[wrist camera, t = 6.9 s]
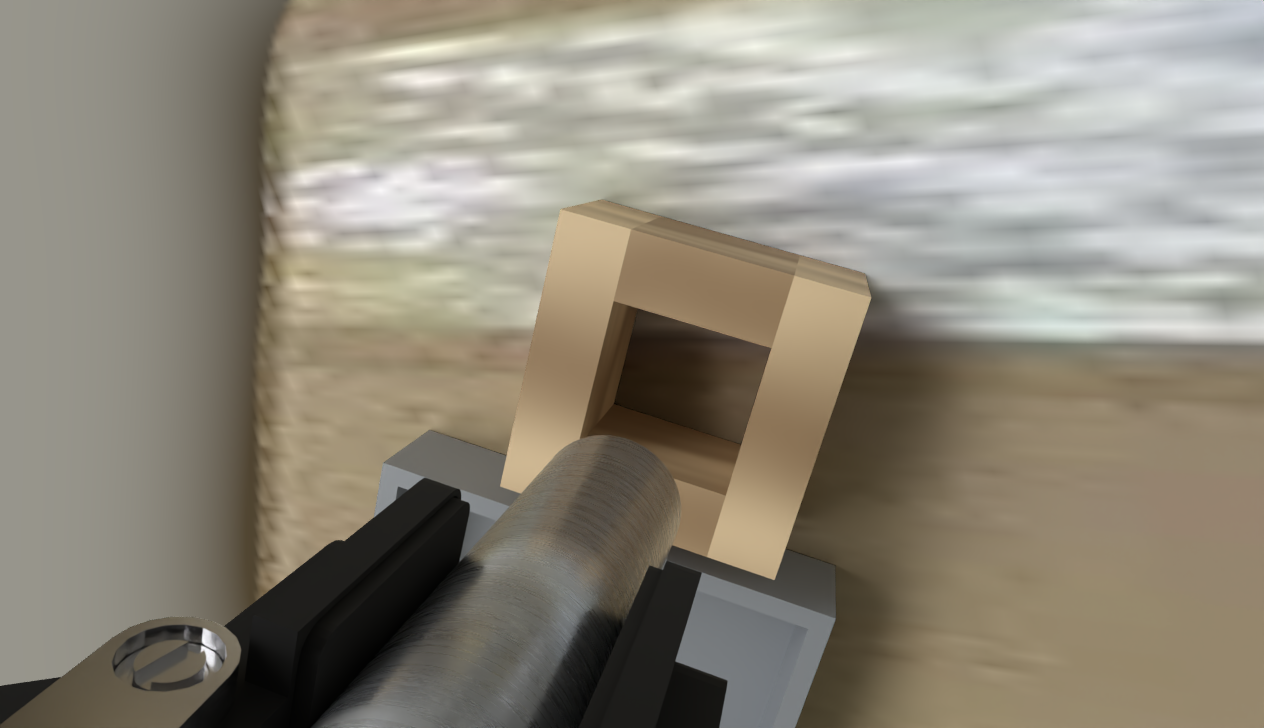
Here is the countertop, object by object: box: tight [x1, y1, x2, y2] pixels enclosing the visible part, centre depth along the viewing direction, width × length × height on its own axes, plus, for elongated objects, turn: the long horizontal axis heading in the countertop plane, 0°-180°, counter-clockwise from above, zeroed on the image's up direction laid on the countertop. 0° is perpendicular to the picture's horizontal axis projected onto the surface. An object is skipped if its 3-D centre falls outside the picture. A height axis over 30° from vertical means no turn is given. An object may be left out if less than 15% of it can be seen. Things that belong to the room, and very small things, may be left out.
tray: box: [374, 430, 836, 728], centre depth 27 cm, size 10×14×3 cm
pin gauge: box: [311, 435, 681, 728], centre depth 10 cm, size 3×3×12 cm
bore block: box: [500, 200, 871, 580], centre depth 24 cm, size 8×8×4 cm
